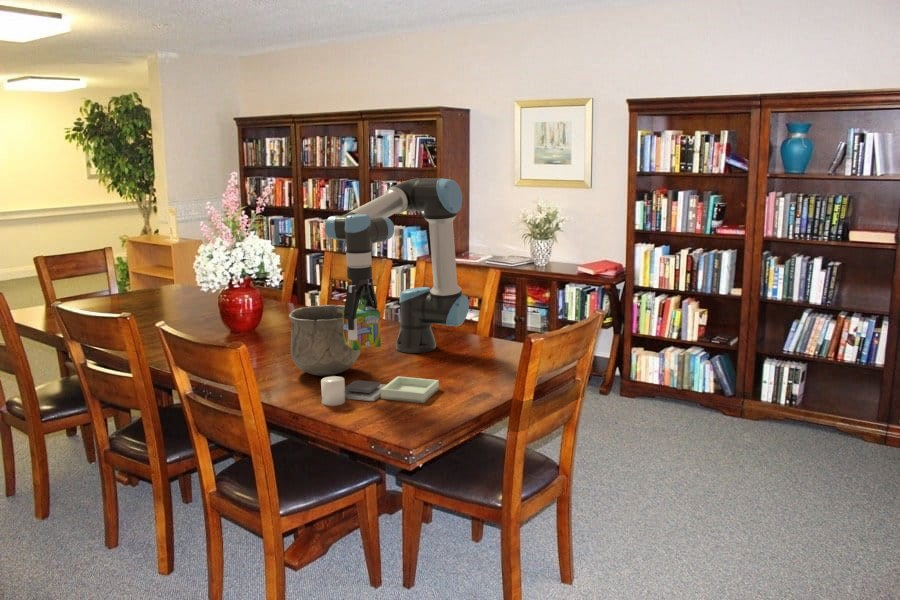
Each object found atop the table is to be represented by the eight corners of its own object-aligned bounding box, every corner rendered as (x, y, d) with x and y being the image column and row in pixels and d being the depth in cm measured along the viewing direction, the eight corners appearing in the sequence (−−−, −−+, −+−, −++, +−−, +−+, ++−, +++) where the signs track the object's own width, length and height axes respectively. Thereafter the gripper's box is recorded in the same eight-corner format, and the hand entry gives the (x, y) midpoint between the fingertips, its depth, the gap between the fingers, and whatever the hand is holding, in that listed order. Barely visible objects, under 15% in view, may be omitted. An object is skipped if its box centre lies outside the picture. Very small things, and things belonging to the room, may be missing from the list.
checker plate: (356, 383, 247) (356, 380, 247) (379, 385, 244) (379, 382, 244) (345, 390, 239) (345, 387, 239) (369, 393, 237) (369, 389, 237)
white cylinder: (328, 397, 238) (327, 375, 237) (349, 399, 236) (348, 377, 235) (317, 404, 232) (316, 382, 230) (338, 406, 230) (338, 384, 228)
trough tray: (397, 385, 250) (397, 376, 249) (438, 389, 245) (438, 380, 245) (380, 398, 237) (380, 389, 236) (423, 403, 232) (423, 393, 232)
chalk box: (342, 344, 241) (340, 298, 238) (369, 340, 246) (368, 294, 242) (354, 351, 233) (352, 303, 230) (382, 346, 238) (380, 300, 234)
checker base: (353, 384, 250) (352, 379, 250) (390, 388, 246) (390, 382, 246) (335, 397, 238) (334, 391, 238) (373, 401, 234) (373, 395, 234)
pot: (277, 371, 265) (274, 310, 261) (336, 359, 280) (334, 301, 276) (314, 388, 247) (312, 323, 242) (375, 374, 261) (374, 312, 257)
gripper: (364, 259, 247) (367, 324, 251) (329, 272, 224) (333, 343, 228) (386, 259, 244) (388, 325, 249) (353, 273, 222) (356, 345, 226)
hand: (361, 334), depth 239 cm, fingers closed on chalk box, 12 cm apart
